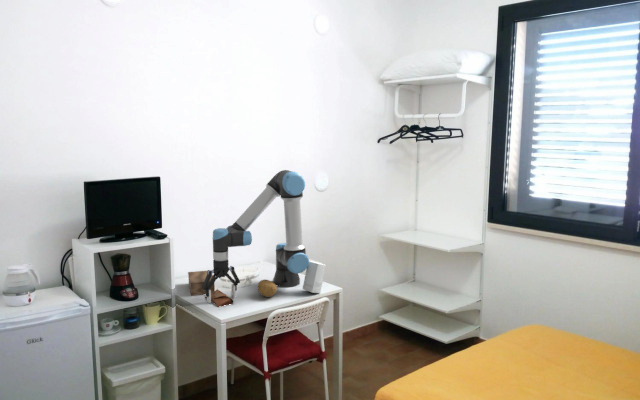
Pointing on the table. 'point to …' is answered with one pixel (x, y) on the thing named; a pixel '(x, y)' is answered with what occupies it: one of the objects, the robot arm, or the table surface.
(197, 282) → the walnut box
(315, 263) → the skincare box
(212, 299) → the sunglasses case
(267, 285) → the potato
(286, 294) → the table surface
